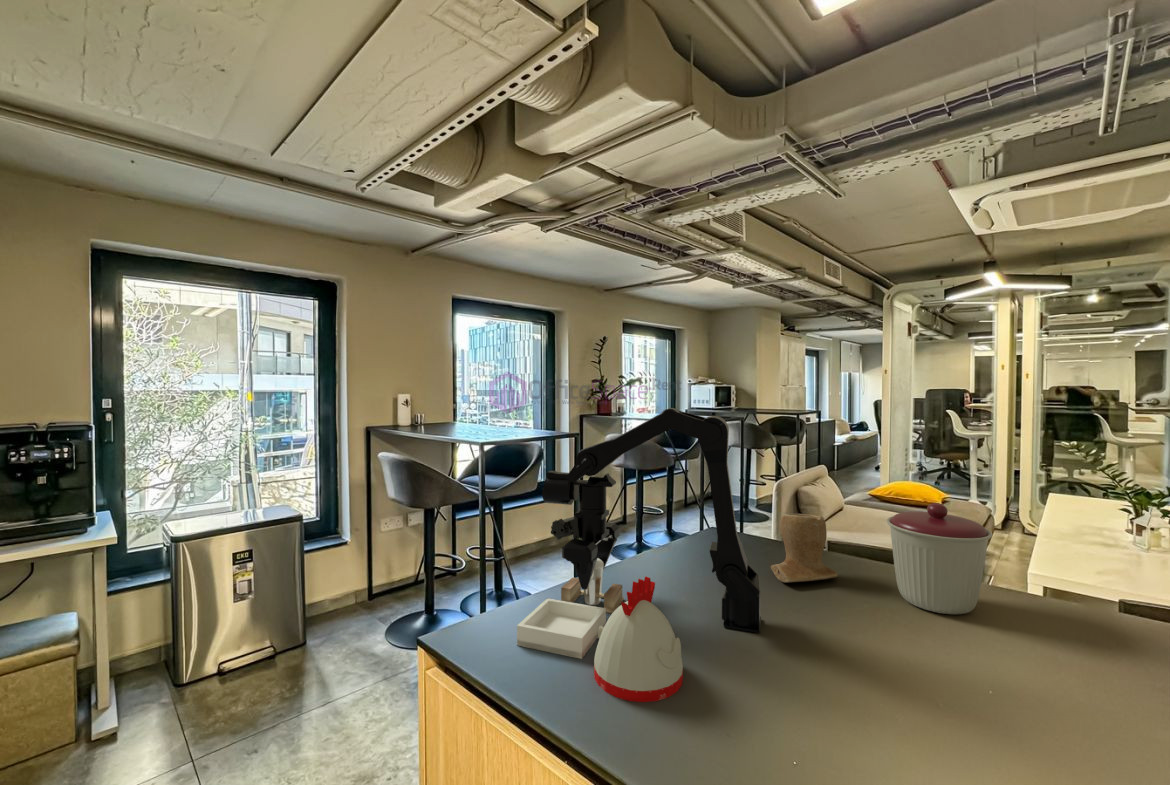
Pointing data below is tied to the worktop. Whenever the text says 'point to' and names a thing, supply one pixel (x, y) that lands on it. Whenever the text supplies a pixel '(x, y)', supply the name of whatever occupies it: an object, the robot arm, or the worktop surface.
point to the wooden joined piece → (610, 597)
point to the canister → (938, 559)
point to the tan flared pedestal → (803, 549)
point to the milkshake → (595, 585)
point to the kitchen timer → (638, 650)
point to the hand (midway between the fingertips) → (592, 580)
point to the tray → (561, 628)
